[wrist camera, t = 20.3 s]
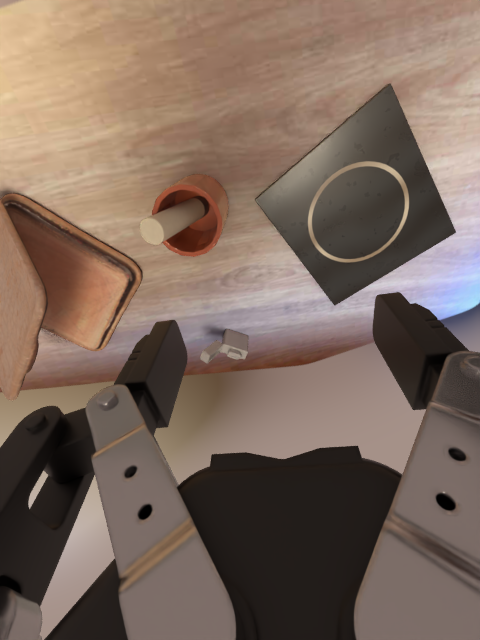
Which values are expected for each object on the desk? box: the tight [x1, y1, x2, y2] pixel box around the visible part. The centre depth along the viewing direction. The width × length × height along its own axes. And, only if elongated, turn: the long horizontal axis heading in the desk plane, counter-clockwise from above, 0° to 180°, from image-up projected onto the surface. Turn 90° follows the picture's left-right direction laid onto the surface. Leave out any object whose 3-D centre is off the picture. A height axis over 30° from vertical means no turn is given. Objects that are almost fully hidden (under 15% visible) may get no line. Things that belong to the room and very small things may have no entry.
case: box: [0, 194, 142, 400], centre depth 38 cm, size 20×21×16 cm
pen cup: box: [152, 174, 228, 257], centre depth 34 cm, size 7×7×9 cm
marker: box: [140, 196, 209, 245], centre depth 32 cm, size 3×3×12 cm
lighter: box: [200, 329, 248, 363], centre depth 46 cm, size 7×2×8 cm, turn 69°
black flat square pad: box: [255, 84, 456, 305], centre depth 38 cm, size 20×18×1 cm
